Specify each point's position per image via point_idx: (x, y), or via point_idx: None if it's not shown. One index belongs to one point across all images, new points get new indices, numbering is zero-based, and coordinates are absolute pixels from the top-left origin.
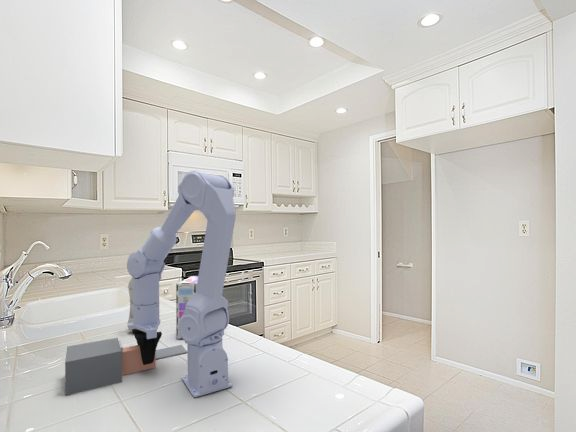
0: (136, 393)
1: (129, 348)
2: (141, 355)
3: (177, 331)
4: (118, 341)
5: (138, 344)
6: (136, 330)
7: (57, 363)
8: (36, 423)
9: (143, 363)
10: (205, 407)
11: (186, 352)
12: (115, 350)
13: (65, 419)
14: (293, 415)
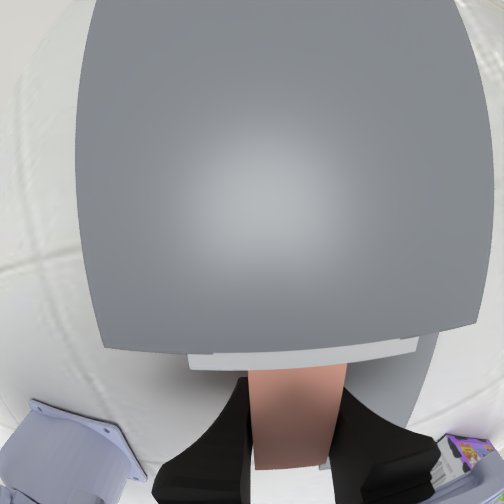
0: (64, 306)
1: (304, 379)
2: (227, 404)
3: (453, 452)
4: (389, 340)
5: (342, 418)
6: (384, 479)
7: (492, 67)
8: (44, 49)
9: (237, 381)
10: (9, 393)
11: (319, 467)
12: (131, 310)
13: (19, 114)
14: (6, 439)
